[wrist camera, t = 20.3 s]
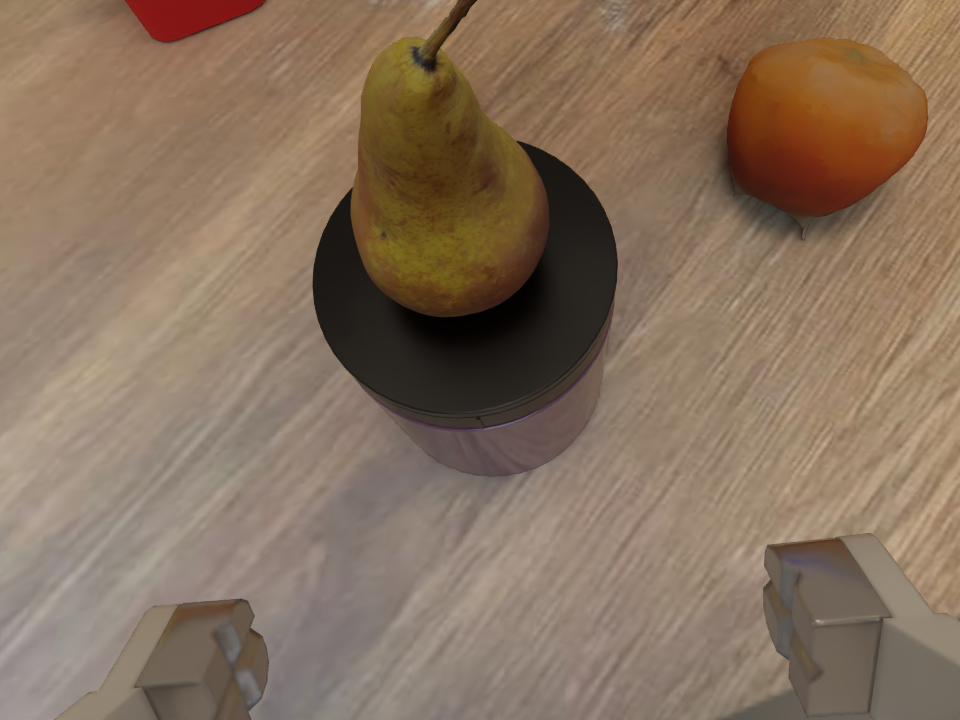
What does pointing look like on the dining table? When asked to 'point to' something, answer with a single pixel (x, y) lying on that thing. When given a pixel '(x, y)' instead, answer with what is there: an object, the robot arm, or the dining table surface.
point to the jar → (513, 430)
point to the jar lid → (477, 319)
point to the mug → (186, 15)
